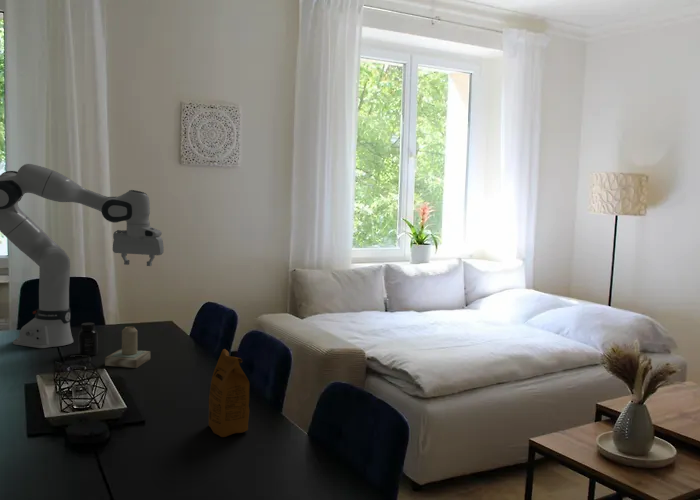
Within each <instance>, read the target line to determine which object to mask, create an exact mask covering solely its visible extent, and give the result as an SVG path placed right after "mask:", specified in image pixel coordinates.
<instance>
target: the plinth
mask: <svg viewBox="0 0 700 500" xmlns="http://www.w3.org/2000/svg"><path fill="white" fill-rule="evenodd" d="M150 360H151V350H138V349H137V354H134V355H124V354H122V348H120V349H118V350H115V352H112V353H110V354H109V355H107V356H105V357H104V366H105V367H107V366H109V367H118V368H119V367H121V368H132V369H133V368H134V369H137V368H139V367H141V366H143V365H144V364H145V363H147V362H148V361H150Z"/></svg>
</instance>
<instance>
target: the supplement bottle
mask: <svg viewBox="0 0 700 500" xmlns="http://www.w3.org/2000/svg"><path fill="white" fill-rule="evenodd" d="M80 329H81V330H80V331H78V355H79V354H80V355H91V356H90V357H93V356H96V355H98V354H99V353H98V351H99V348H98V347H99V345H98V343H99V341H98V339H99V338H98V331H97V330H96V324H95V322H83V323H81V324H80ZM80 355H79V356H80Z"/></svg>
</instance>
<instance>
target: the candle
mask: <svg viewBox="0 0 700 500" xmlns="http://www.w3.org/2000/svg"><path fill="white" fill-rule="evenodd" d="M121 349H122V354H124V355H134V354H137V350H138V330H137V329H136V327H135V326H134V325H133V326H131V325H130V326H125V327H124V328H123V329H122V330H121Z"/></svg>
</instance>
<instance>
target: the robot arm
mask: <svg viewBox="0 0 700 500" xmlns="http://www.w3.org/2000/svg"><path fill="white" fill-rule="evenodd" d="M25 194H33V195H36V196H38V197H41V198H43V199H45V200H50V201H52V202H53V201H54V202H56V203H57V202H58V203H74V204H75V203H77V204H81V205H83V206H85V207H89V208H91V209H94V210H97V211H99V212H101V215H102V217H103V218H104V219H105V220H106V221H108V222H109V223H114V224H115V223H120V222H124V221H125V222H126V230H124V229H122V230H121V229H117V230H115V231H114V232H113V235H112V237H113V238H112V239H113V240H112V241H113V242H112V251H113V253H114V254H121V257H122V260H123V261H124V262H123V264H124V265H125V266H126V265H127V266H128V265H129V266H130V259H128V257H127V256H128V254H129V255H144V256H148V257H149V260H148V261H146V267H152V266H153V261H154V259H155V257H156V256H162V255H163V254H164V251H165V249H164V248H165V247H164V239H163V238H162V237H161V236H162V233H163V231H162V230H159V229H157V228H154V227H152V226H151V225H150V220H149V219H150V214H151V206H150V197H149V195H148V194H147V193H146V192H143V191H140V190H139V191H138V190H133V189H130V190H127V191H126V192H125V193H123V194H121V195H118V196H106V195H102V194H100V193H98V192H95V191H92V190H90V189H87V188H85V187H83V186H81V185H80V184H79V183H77V182H75V181H74V180H72V179H70V178H69V177H67V176H66V175H64V174H62V173H60V172H57V171H55V170H53V169H50V168H47V167H44V166H41V165H38V164H32V163H25V164H23V165H22V166H20V167H19V168H18V171H16V170H8V171H4V172H2V173H1V174H0V233H1V234H2V235H3V236H5V237H6V238H7V240H9V242H11V243H12V244H13V245H14V246H15V247H16V248H17V249H19V250H20V251H21V252H22V253H23V254H25V256H27V258H29V259H30V260H31V261H33V262H34V263H35V264H36V265H37V266H38V268H39V278H38V280H39V282H38V308H37V309H35V310H33V311H32V314H33V315H34V318H32V319H31V320H29V321H28V322H27V323H26V324H25V325H23V326H22V327H21V328H20V329H19V330H20V331H19V336H18V337H17V338H15V339H14V340H12V341H13V342H12V345H16V346H22V347H23V346H24V347H30V348H37V349H47V348H52V347H53V348H54V347H62V346H66V345H71V344H72V343H74V338H73V336H72V335H73V334H72V331H71V307H70V281H71V280H70V278H71V277H70V275H71V259H70V257H69V255H68V254H67V252H66V251H65V250H64V249H63V248H62V247H61V246H60V245H59V244H58V243H56V242H55V240H53V239H52V238H51V237H50V236H49V235H48V234H47V233H46V232H44V230H42V229H41V228H40V227H39V226H38V225H37V224H36V223H35V222H34V221H33V220H32V219H31V218H30V217H29V216H28V215H27V214H25V212H24V211H22V210H21V209H20V206H19V205H18V203H19V202H20V201H21V200H22V198H23V196H24V195H25Z"/></svg>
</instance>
